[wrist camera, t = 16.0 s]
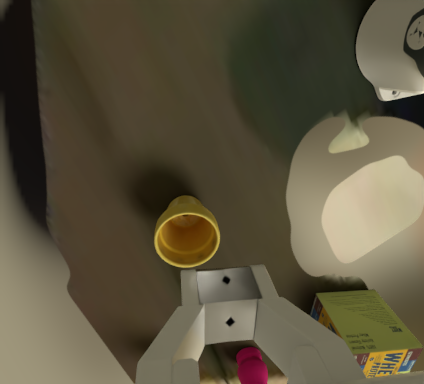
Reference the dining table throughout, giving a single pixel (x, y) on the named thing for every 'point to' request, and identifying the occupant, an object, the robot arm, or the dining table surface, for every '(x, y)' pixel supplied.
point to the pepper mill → (251, 366)
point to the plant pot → (186, 233)
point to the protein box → (368, 331)
